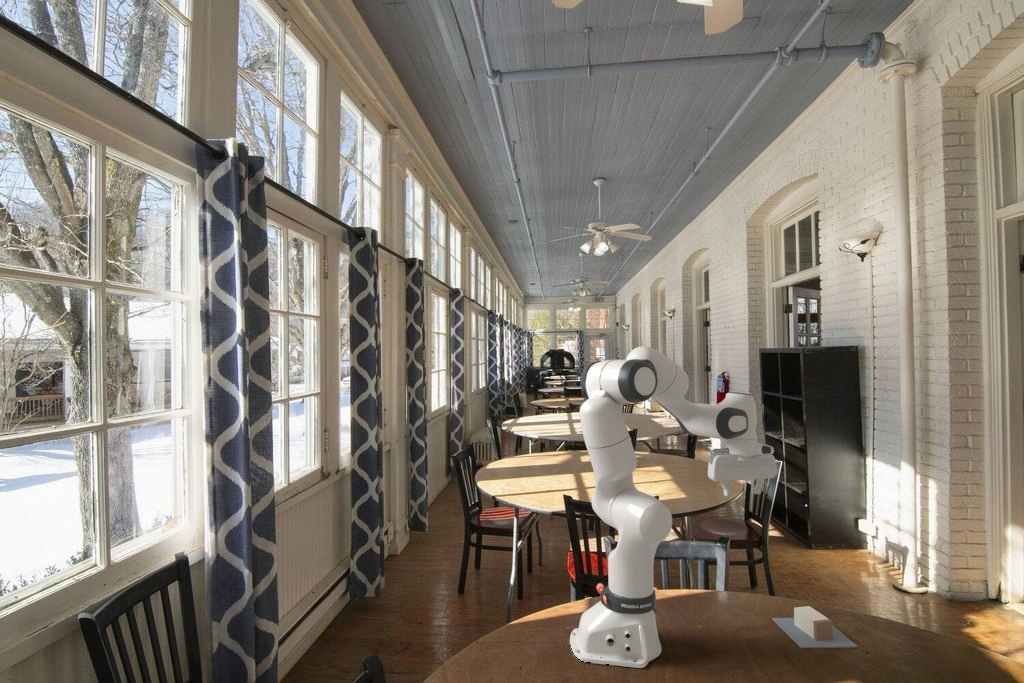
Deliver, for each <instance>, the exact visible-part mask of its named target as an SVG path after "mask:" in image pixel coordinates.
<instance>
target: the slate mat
mask: <svg viewBox="0 0 1024 683" xmlns="http://www.w3.org/2000/svg"><path fill="white" fill-rule="evenodd" d="M771 620H772V621H773V622H774V623H775V624H776V625H777V626H779V628H780V629H781V630H782V631H783V632H784V633H785V634H787V636H788V637H789V638H790V639H791V640H792V641H794V643H795V644H796V645H797V646H798V647H799V648H800V649H826V648H827V649H829V648H830V649H833V648H834V649H837V648H839V649H840V648H843V649H844V648H859V646H858V645H857V644H856V643H855V642H853V641H852V640H851V639H849V637H847V635H845V634H844V633H843V632H842V631H840V630H839V629H838V628H836V627H835V626H834V625H833V624H832V631H833V639H830V640H821V641H816V640H815V639H813V638H812V637H811V636H809V635H808V634H807V633H805V632H804V631H802V630H801V629H800V628H798V627H797V626H795V625H794V617H772V619H771Z"/></svg>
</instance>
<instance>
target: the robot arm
mask: <svg viewBox="0 0 1024 683" xmlns="http://www.w3.org/2000/svg"><path fill="white" fill-rule="evenodd" d="M689 380H690V379H689V376H688V374H687V372H686V371H685V370H684V369H683V367H681V366H680V365H679V364H678V363H676V362H675V361H673V360H672V359H671V358H670V357H668V356H666V355H665V354H663V353H662V352H661V351H658V350H656V349H654V348H653V347H649V346H647V345H646V346H645V345H642V346H641V345H640V346H637V347H635V348H633V349H632V350H631V351H630V352H629V353H628V354H627V356H626V358H625V359H617V358H614V359H605V360H597V361H594V362H591V363H590V364H588V365H586V366H585V367H584V368H583V370H582V372H581V374H580V389H581V395H582V398H583V400H584V402H583V403H581V406H580V407H579V420H580V428H581V432H582V437H583V441H584V444H585V447H586V449H587V453H588V457H589V460H590V464H591V467H592V470H593V475H594V483H595V489H594V491H593V492H592V496H591V508H592V510H593V511H594V513H595V514H596V515H597V517H598V518H600V519H601V520H602V521H603V523H605V524H607V525H608V526H610V527H612V528H614V529H616V531H617V533H618V540H617V545H616V546H615V548H614V549H613V550H611V551H610V552H609V554H608V557H607V570H608V571H607V572H608V584H607V585H606V586H605V585H604V584H603V583H601V582H600V583H597V585H596V587H595V588H596V590H597V593H598V594H600V601H598V602H597V603H595V604H594V605H592V606H591V607H590V608H588V609H586V610H585V611H584V612H583V613H582V614H581V616H580V618H579V619H580V620H579V624H578V627H577V628H573V630H572V631H571V633H570V637H569V646H570V645H571V647H570V649H571V648H572V650H571V652H572V651H573V653H574V654H573V653H572V654H573V656H574V655H575V656H576V657H577V658H578V659H580V660H581V661H584V662H583V663H586V662H591V663H590V664H596V665H606V664H609V665H608V666H618V667H627V668H636V669H637V668H638V669H643V668H645V667H646V666H648V664H649V662H651V661H654V659H657V657H659V656H660V655H661V653H662V645H661V641H660V638H659V634H658V627H657V620H656V612H657V611H656V609H657V595H656V590H655V589H654V563H655V555H656V552H657V549H658V546H659V545H660V543H663V541H665V540H666V539H667V537H669V534H670V533H671V531H672V526H673V515H672V512H671V510H670V509H669V508H668V507H667V506H666V505H665V504H664V503H663V502H662V501H660V500H659V499H657V498H656V497H655V496H652V495H650V494H648V493H645V492H644V491H643V492H642V491H640V490H639V489H638V488H637V487H636V486H635V484H634V475H633V474H634V473H633V472H634V471H635V470H636V468H637V465H638V459H637V456H636V453H635V452H636V451H635V448H634V446H633V443H632V438H631V436H630V433H629V430H628V426H627V424H626V421H625V419H624V417H623V407H624V404H639V403H643V402H645V401H648V400H650V399H651V398H653V399H654V401H655V402H656V403H657V404H658V405H659V406H661V407H662V409H664V410H665V411H666V412H667V413H669V414H670V415H671V416H672V417H673V418H674V419H675V421H676V422H677V423H678V425H679V427H680V428H681V430H682V431H683V432H684V433H685V434H686V435H689V436H696V437H706V438H711V439H719V440H724V447H723V448H721V447H720V448H713V449H712V450H711V451H709V453H708V467H707V476H708V478H709V480H711V481H713V482H719V484H720V486H721V488H722V489H723V495H724V496H726V497H732V495H733V494H732V489H729V487H728V486H727V485H729V482H730V481H731V482H733V481H747V480H748V481H749V480H755V482H756V483H755V485H754V486H752V493H753V494H754V495H760V494H762V487H763V486H764V484H765V480H766V479H774V478H775V476H776V475H777V463H776V458H775V455H773V454H774V453H775V450H774V449H775V448H774V447H773V446H771V445H768V444H765V443H762V442H760V441H758V435H757V430H756V429H757V424H758V415H757V407H756V406H757V405H756V402H755V398H754V396H752V395H751V394H749V393H745V392H738V391H737V392H736V391H731V392H727V393H726V394H725V398H723V400H722V401H720V402H719V403H718V402H717V404H711V403H709V404H708V403H702V402H701V403H700V402H694V401H689V400H687V399H686V398H685V396H686V394H687V392H688V389H689V385H690V381H689ZM575 656H574V657H575ZM576 657H575V658H576ZM577 658H576V659H577ZM578 659H577V660H578ZM580 660H579V661H580ZM581 661H580V662H581Z"/></svg>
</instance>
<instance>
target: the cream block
mask: <svg viewBox="0 0 1024 683" xmlns="http://www.w3.org/2000/svg"><path fill="white" fill-rule="evenodd" d="M793 618H794V625H795V626H797V627H798V628H800V629H801V630H802V631H804V632H805V633H807V634H808V635H809V636H811V637H812V638H813V639H815V640H816V641H821V640H830V639H833V631H832V625H833V620H831V619H830V618H828V617H826V615H823V614H822V613H821V612H819V611H818V610H816V609H814V608H813V607H812V606H810V605H808V606H797V607H793Z"/></svg>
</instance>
